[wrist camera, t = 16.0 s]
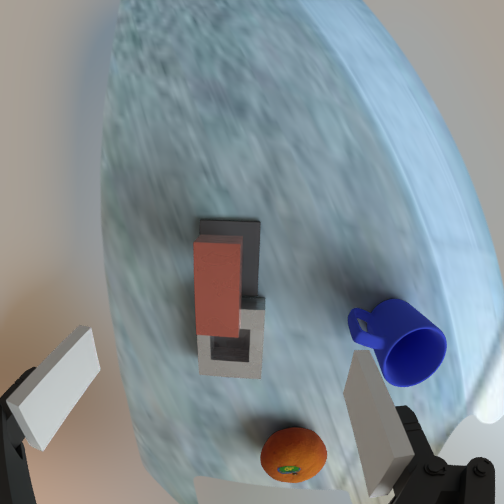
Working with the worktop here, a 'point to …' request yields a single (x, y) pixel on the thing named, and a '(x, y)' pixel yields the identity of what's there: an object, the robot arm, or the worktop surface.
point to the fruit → (293, 455)
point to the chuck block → (236, 346)
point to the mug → (400, 341)
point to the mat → (250, 247)
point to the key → (218, 284)
